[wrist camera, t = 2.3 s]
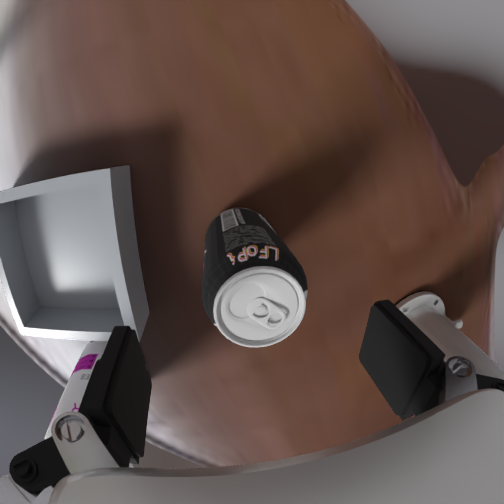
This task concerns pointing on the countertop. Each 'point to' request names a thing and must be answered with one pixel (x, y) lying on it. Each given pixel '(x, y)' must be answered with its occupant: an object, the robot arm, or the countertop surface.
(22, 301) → the tray
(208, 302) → the beverage can
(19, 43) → the countertop surface
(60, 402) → the supplement can
